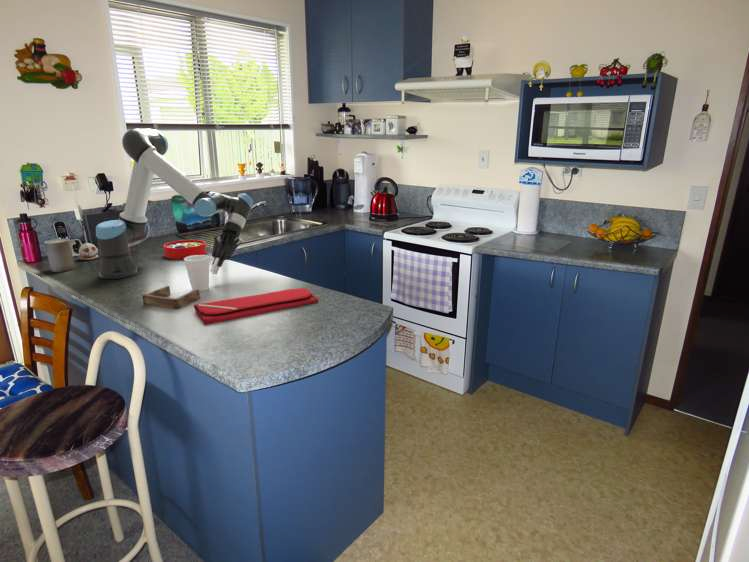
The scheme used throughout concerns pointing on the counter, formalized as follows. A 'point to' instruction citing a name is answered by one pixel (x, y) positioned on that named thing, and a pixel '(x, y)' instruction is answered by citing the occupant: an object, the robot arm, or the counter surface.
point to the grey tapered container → (59, 255)
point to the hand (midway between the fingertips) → (213, 272)
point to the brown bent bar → (161, 300)
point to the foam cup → (198, 271)
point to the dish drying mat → (253, 305)
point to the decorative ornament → (88, 250)
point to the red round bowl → (184, 249)
